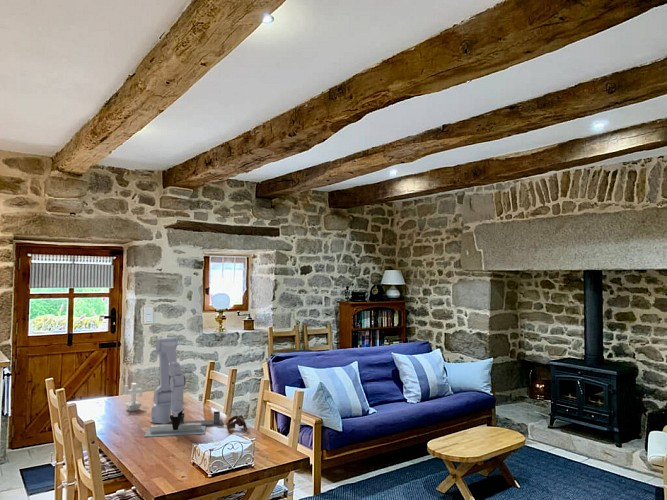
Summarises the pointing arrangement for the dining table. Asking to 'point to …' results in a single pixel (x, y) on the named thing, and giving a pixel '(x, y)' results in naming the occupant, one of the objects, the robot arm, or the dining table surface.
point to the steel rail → (169, 428)
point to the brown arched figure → (236, 422)
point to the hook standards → (205, 422)
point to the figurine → (133, 397)
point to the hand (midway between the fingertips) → (176, 427)
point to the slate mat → (175, 433)
